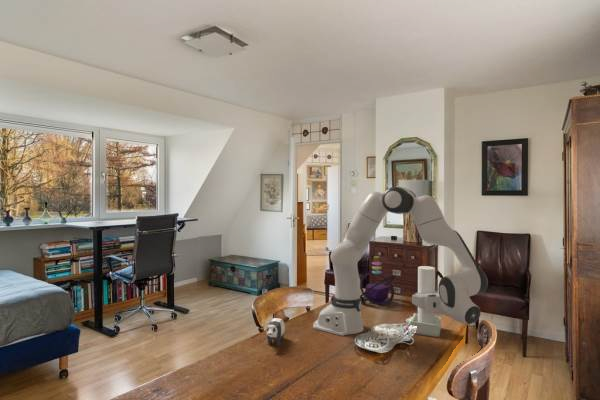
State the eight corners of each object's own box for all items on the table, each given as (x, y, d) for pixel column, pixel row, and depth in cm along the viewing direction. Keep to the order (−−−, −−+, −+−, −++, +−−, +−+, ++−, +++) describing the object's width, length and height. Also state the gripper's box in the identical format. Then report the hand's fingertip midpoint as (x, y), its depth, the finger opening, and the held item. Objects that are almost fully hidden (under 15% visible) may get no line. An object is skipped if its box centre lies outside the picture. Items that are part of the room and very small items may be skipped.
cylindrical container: (414, 324, 161) (414, 267, 161) (422, 320, 166) (422, 265, 166) (430, 328, 156) (430, 270, 156) (437, 324, 161) (438, 267, 161)
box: (410, 332, 159) (410, 321, 159) (414, 324, 169) (414, 313, 169) (438, 337, 154) (439, 325, 154) (440, 327, 164) (441, 316, 164)
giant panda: (272, 335, 156) (272, 313, 156) (285, 336, 155) (285, 314, 155) (262, 350, 142) (262, 325, 141) (276, 351, 140) (276, 326, 140)
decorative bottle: (369, 294, 218) (369, 252, 218) (403, 300, 205) (403, 256, 204) (349, 302, 201) (349, 257, 200) (384, 311, 188) (384, 262, 187)
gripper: (467, 293, 151) (445, 285, 165) (423, 297, 146) (404, 288, 159) (467, 308, 151) (445, 299, 165) (423, 312, 146) (404, 302, 159)
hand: (425, 293), depth 162 cm, fingers closed on cylindrical container, 7 cm apart
